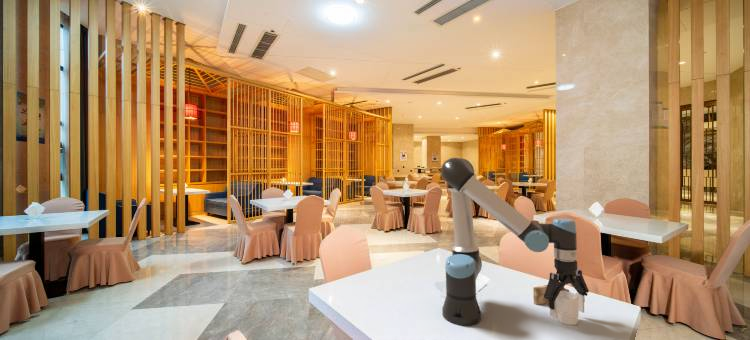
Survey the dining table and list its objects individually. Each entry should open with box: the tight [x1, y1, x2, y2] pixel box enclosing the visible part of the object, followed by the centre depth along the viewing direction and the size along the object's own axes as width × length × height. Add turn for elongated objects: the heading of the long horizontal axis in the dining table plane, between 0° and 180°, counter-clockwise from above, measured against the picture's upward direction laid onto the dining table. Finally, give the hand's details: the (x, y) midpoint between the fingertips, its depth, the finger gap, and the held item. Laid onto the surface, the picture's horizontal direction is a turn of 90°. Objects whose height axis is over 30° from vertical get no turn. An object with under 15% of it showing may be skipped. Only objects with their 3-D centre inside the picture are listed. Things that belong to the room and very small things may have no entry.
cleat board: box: [532, 284, 570, 306], centre depth 128 cm, size 16×4×7 cm, turn 107°
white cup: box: [556, 291, 579, 326], centre depth 113 cm, size 8×8×10 cm
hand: (567, 314), depth 113 cm, fingers open, 13 cm apart
